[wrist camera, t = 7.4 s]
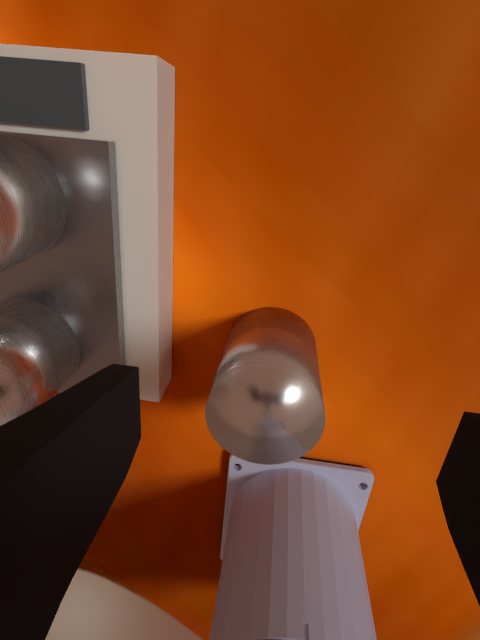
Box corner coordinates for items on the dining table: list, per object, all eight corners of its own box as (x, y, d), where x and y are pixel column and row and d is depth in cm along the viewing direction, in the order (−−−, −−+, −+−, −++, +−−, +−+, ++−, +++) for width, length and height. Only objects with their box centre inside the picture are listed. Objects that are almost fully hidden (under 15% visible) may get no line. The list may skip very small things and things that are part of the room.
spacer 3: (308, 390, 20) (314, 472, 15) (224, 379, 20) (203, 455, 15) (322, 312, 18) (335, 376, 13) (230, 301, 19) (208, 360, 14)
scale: (171, 377, 21) (156, 406, 18) (-24, 350, 22) (-61, 375, 19) (174, 67, 15) (154, 53, 13) (-94, 46, 16) (-160, 29, 13)
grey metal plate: (127, 394, 19) (122, 402, 18) (-31, 372, 19) (-41, 379, 19) (115, 141, 14) (108, 141, 13) (-93, 121, 15) (-108, 121, 14)
